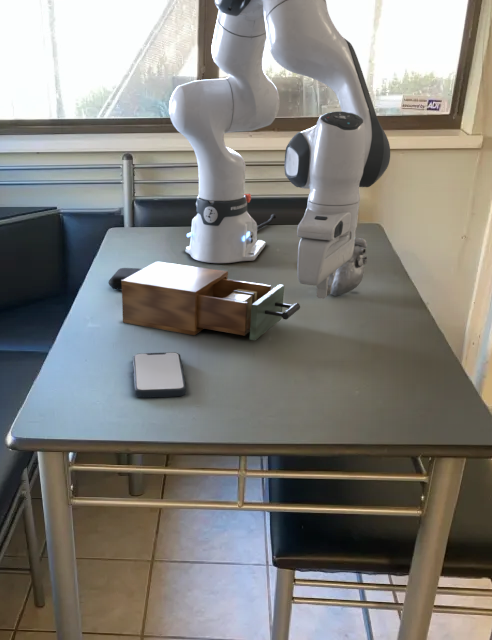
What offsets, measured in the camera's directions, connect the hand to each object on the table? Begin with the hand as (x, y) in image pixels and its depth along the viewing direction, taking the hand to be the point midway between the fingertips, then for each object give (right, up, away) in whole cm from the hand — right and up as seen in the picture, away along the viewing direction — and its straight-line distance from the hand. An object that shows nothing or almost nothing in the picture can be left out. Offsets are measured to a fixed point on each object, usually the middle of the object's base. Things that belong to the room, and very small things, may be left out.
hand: (323, 296), depth 150 cm
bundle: (-15, -1, +11) cm, 18 cm away
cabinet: (-27, +1, +19) cm, 32 cm away
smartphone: (-31, -17, -7) cm, 36 cm away
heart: (+10, +9, +29) cm, 32 cm away
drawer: (-13, -2, +11) cm, 18 cm away
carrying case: (-33, +13, +36) cm, 50 cm away
